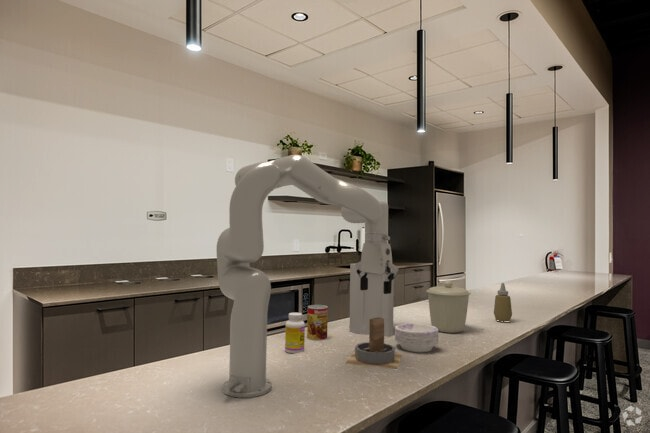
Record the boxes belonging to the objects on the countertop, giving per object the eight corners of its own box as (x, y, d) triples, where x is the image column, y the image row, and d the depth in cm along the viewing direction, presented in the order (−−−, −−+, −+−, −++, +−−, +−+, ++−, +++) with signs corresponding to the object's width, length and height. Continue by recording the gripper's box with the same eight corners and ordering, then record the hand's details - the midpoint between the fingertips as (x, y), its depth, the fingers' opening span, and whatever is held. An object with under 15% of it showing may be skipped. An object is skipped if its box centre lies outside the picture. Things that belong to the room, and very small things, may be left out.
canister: (479, 332, 176) (479, 281, 177) (451, 337, 166) (451, 284, 167) (445, 323, 191) (445, 277, 192) (417, 328, 181) (417, 279, 182)
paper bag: (374, 339, 162) (375, 266, 163) (348, 331, 174) (349, 263, 175) (406, 332, 174) (407, 264, 175) (380, 325, 186) (381, 262, 187)
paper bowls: (405, 341, 160) (405, 320, 160) (444, 348, 151) (444, 326, 151) (387, 350, 147) (387, 327, 148) (428, 359, 139) (428, 334, 139)
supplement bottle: (301, 354, 141) (302, 316, 141) (282, 353, 142) (283, 315, 143) (306, 349, 147) (306, 312, 148) (288, 347, 149) (288, 311, 149)
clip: (387, 356, 136) (387, 348, 136) (375, 360, 132) (375, 352, 132) (374, 353, 140) (374, 345, 140) (362, 356, 136) (362, 349, 136)
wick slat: (383, 355, 137) (384, 318, 138) (375, 358, 134) (375, 320, 134) (377, 353, 139) (378, 317, 139) (369, 356, 136) (369, 319, 136)
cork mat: (397, 370, 126) (397, 368, 126) (345, 365, 131) (345, 363, 131) (402, 355, 142) (402, 353, 142) (355, 351, 146) (355, 349, 146)
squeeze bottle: (491, 319, 202) (491, 281, 203) (509, 320, 201) (509, 282, 202) (496, 323, 194) (496, 284, 195) (514, 323, 193) (514, 284, 194)
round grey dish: (402, 358, 136) (402, 348, 136) (377, 367, 127) (378, 355, 127) (372, 350, 145) (372, 340, 145) (347, 357, 136) (347, 346, 136)
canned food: (319, 341, 158) (319, 309, 158) (302, 337, 163) (303, 306, 163) (331, 337, 164) (331, 306, 165) (315, 334, 169) (316, 304, 169)
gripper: (404, 239, 134) (404, 294, 133) (363, 238, 146) (362, 287, 146) (390, 240, 128) (389, 296, 128) (348, 238, 141) (348, 289, 140)
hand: (375, 291), depth 137 cm, fingers open, 9 cm apart
